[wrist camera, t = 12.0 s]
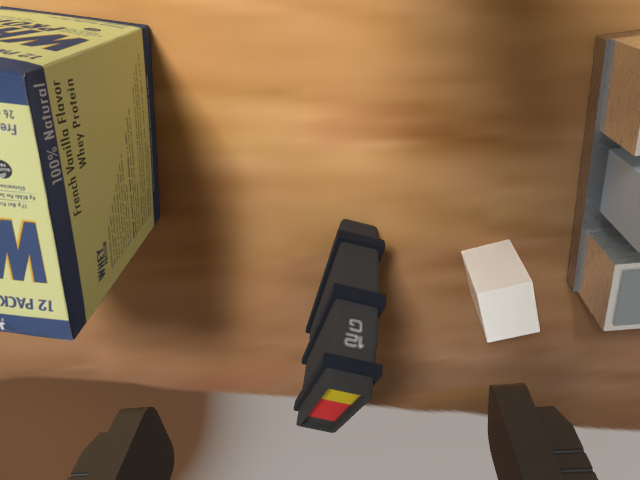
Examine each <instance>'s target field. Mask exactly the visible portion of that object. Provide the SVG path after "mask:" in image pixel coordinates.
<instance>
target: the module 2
mask: <svg viewBox="0 0 640 480" xmlns="http://www.w3.org/2000/svg"><path fill="white" fill-rule="evenodd" d="M600 212H601V213H602V214H603V215H604V216H605V217H606V218H607V219H608V220H609V222H610V223H611V224H612V225H613V226H614V227H615V228H616V229H617V230H618V231H619V232H620V233H621V234H622V235H623V236H624V237H625V239H626V240H627V241H628V242H629V243H630V244H631V245H632V246H633V247H634V248H635V249H636V250H637V251H638V252H639V253H640V156H634V155H632V154H631V153H629V152H628V151H627V150H625V149H624V148H623V147H622V148H613V149H609V153H608V159H607V166H606V173H605V179H604V186H603V193H602V199H601V206H600Z"/></svg>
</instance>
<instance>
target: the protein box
mask: <svg viewBox="0 0 640 480" xmlns="http://www.w3.org/2000/svg"><path fill="white" fill-rule="evenodd" d="M159 218H160V210H159V191H158V171H157V151H156V134H155V116H154V97H153V79H152V62H151V45H150V29H149V26H148V25H143V24H134V23H127V22H120V21H112V20H104V19H98V18H91V17H82V16H75V15H67V14H60V13H51V12H43V11H35V10H27V9H19V8H11V7H3V6H1V7H0V331H3V332H11V333H18V334H25V335H32V336H38V337H45V338H52V339H61V340H69V341H72V340H74V339H75V338H76V336H77V335H78V334H79V332H80V331H81V329H82V328H83V326H84V325H85V324H86V322H87V321H88V320H89V318H90V317H91V315H92V314H93V312H94V311H95V310H96V308H97V307H98V305H99V304H100V302H101V301H102V300H103V298H104V297H105V295H106V294H107V292H108V291H109V290H110V288H111V287H112V285H113V284H114V282H115V281H116V280H117V278H118V277H119V275H120V274H121V273H122V271H123V270H124V268H125V267H126V265H127V264H128V263H129V261H130V260H131V258H132V257H133V255H134V254H135V253H136V251H137V250H138V248H139V247H140V245H141V244H142V243H143V241H144V240H145V238H146V237H147V235H148V234H149V233H150V231H151V230H152V228H153V227H154V226H155V224H156V223H157V222H158V221H159Z"/></svg>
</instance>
